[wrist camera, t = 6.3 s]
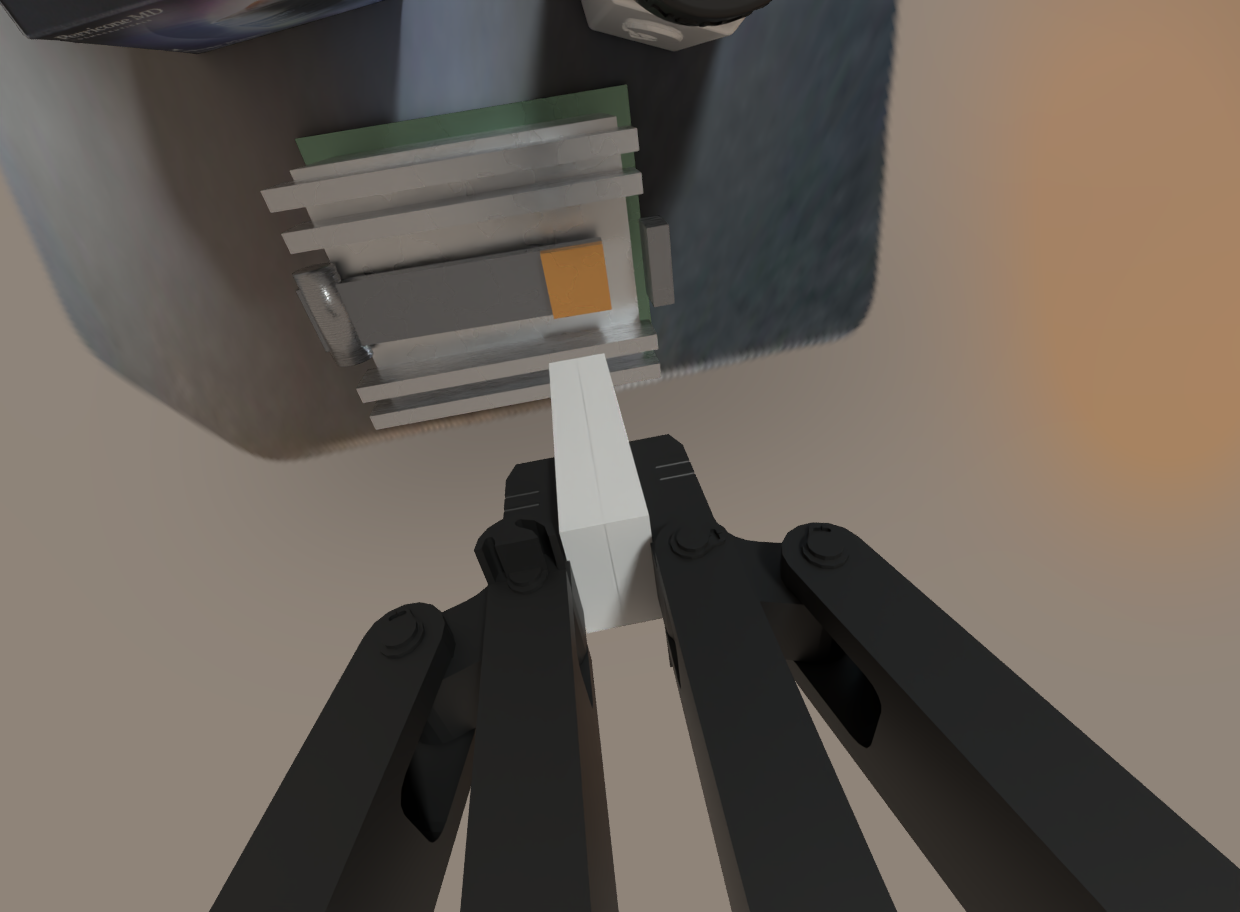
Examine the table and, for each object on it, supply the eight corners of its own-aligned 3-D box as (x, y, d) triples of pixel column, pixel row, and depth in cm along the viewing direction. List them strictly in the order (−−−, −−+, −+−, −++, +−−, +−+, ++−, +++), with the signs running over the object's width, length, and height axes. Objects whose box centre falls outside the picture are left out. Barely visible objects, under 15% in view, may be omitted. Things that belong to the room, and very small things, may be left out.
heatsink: (299, 138, 27) (213, 154, 19) (625, 84, 27) (658, 81, 20) (401, 380, 35) (367, 455, 28) (651, 335, 35) (681, 396, 28)
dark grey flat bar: (341, 354, 27) (328, 370, 25) (299, 267, 24) (282, 279, 23) (610, 310, 27) (614, 323, 25) (597, 218, 24) (599, 227, 23)
